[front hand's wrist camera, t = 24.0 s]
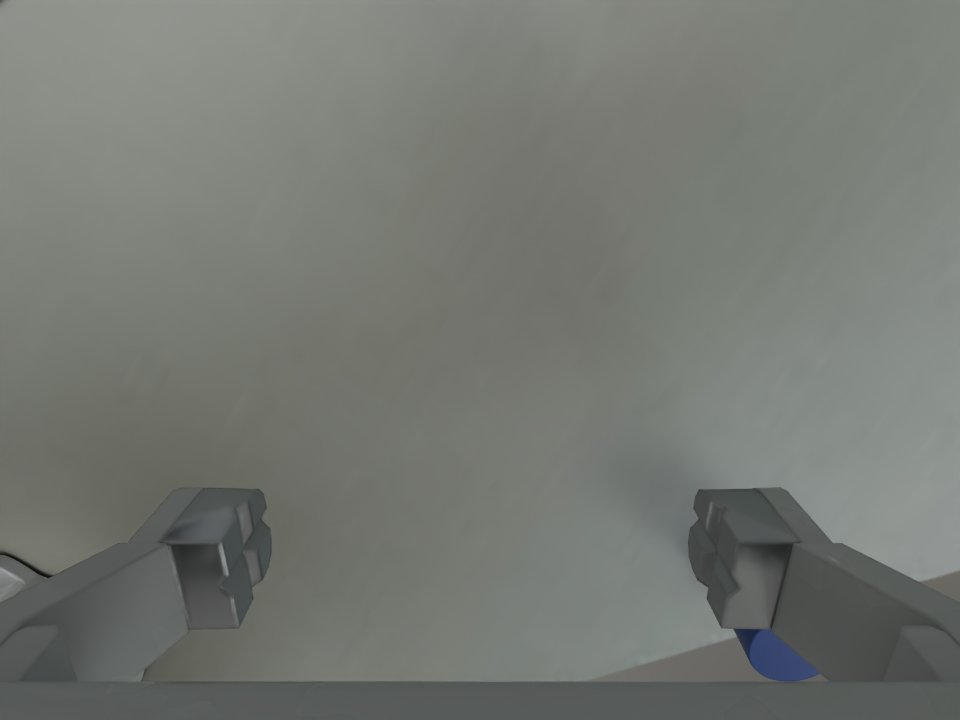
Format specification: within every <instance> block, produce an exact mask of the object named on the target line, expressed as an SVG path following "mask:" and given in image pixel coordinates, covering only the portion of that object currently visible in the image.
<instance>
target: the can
mask: <svg viewBox="0 0 960 720" xmlns="http://www.w3.org/2000/svg"><path fill="white" fill-rule="evenodd" d="M734 631H735V633H736V635H737V637H738V639H739V641H740V643H741V645H742V647H743V649H744V651H745V653H746V655H747V657H748V659H749V661H750V663H751V665H752V666H753V668H754V669H755V670H756V671H757V672H759V673H760V674H761V675H763V676H765V677H767V678H770V679H773V680H777V681H799V680H804V679H807V678H811V677H813V676H815V675H818V674H820V673H819V672H818V671H817V670H816V669H815V668H813V667H812V666H811V665H810V664H809V663H807V662H806V661H805V660H804V659H803V658H801V657H800V656H799V655H798V654H797V653H795V652H794V651H793V650H792V649H791V648H790V647H788V646H787V645H786V644H785V643H784V642H782V641H781V640H780V639H779V638H778V637H776V636H775V635H774V634H773V633H772V632H771V630H765V629H734Z"/></svg>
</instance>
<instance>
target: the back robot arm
mask: <svg viewBox="0 0 960 720" xmlns="http://www.w3.org/2000/svg"><path fill="white" fill-rule="evenodd" d="M46 579H48V578H46V577H43V576H41V575H39V574H37V573H36V572H34V571H33V570H31V569H29V568H28V567H26V566H25V565H23V564H22V563H20V562H18V561H16V560H14V559H13V558H10V557H8V556H5V555H0V602H2V601H4V600H6V599H8V598H10V597H12V596H14V595H16V594H18V593H20V592H22V591H24V590H26V589H28V588H30V587H32V586H34V585H36V584H38V583H40V582H42V581H44V580H46ZM144 671H145V669H144V670H143V671H142V672H141V673H140V674H139V675H137V676H136V677H135V678H134V679H133V680H131V681H141V680H142V678H143V675H144Z"/></svg>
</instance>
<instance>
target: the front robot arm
mask: <svg viewBox="0 0 960 720" xmlns="http://www.w3.org/2000/svg"><path fill="white" fill-rule="evenodd" d="M266 509H267V507H266V502H265V498H264V493H263V492H262V491H261V490H260V489H241V488H179V489H175V490H173V491H172V493H171V494H170V495H169V496H168V497H167V498H166V499H165V500H164V502H163V503H162V504H161V505H160V506H159V507H158V508H157V510H156V511H155V512H154V513H153V514H152V515H151V516H150V518H149V519H148V520H147V521H146V522H145V523H144V524H143V526H142V527H141V528H140V529H139V530H138V531H137V532H136V533H135V535H134V536H133V537H132V538H131V539H130V540H129V541H128V543H118V544H116V545H114V546H112V547H110V548H108V549H106V550H104V551H102V552H100V553H98V554H96V555H94V556H92V557H90V558H88V559H86V560H84V561H82V562H80V563H78V564H76V565H74V566H72V567H70V568H68V569H66V570H64V571H62V572H60V573H58V574H56V575H54V576H52V577H50V578H48V579H46V580H44V581H42V582H40V583H38V584H36V585H34V586H32V587H30V588H28V589H26V590H24V591H22V592H20V593H18V594H16V595H14V596H12V597H10V598H8V599H6V600H4V601H2V602H0V720H960V602H958V601H956V600H954V599H952V598H950V597H948V596H946V595H944V594H942V593H940V592H938V591H936V590H934V589H932V588H930V587H928V586H926V585H924V584H922V583H920V582H918V581H916V580H914V579H912V578H910V577H908V576H906V575H904V574H902V573H900V572H898V571H896V570H894V569H892V568H890V567H888V566H886V565H884V564H882V563H880V562H878V561H876V560H874V559H872V558H870V557H868V556H866V555H864V554H862V553H860V552H858V551H856V550H854V549H852V548H850V547H848V546H846V545H844V544H842V543H832V541H831V540H830V539H829V538H828V537H827V536H826V535H825V534H824V532H823V531H822V530H821V529H820V528H819V527H818V526H817V524H816V523H815V522H814V521H813V520H812V519H811V518H810V516H809V515H808V514H807V513H806V512H805V511H804V510H803V508H802V507H801V506H800V505H799V504H798V503H797V502H796V500H795V499H794V498H793V497H792V496H791V495H790V494H789V493H788V491H787V490H785V489H783V488H780V487H774V488H753V489H706V490H698V492H697V495H696V497H695V502H694V507H693V509H694V510H695V512H696V514H697V516H698V518H699V520H698V521H697V522H696V523H695V524H694V525H693V526H692V527H691V528H690V532H689V540H688V548H689V559H690V562H691V566H692V569H693V572H694V574H695V576H696V578H697V580H698V581H700V582H701V583H703V584H704V585H705V586H707V587H708V594H707V600H708V602H709V604H710V606H711V608H712V610H713V612H714V614H715V616H716V618H717V620H718V622H719V624H720V626H721V628H730V629H765V630H771V632H772V633H773V634H774V635H775V636H776V637H778V638H779V639H780V640H781V641H782V642H784V643H785V644H786V645H787V646H788V647H790V648H791V649H792V650H793V651H794V652H795V653H797V654H798V655H799V656H800V657H801V658H803V659H804V660H805V661H806V662H807V663H809V664H810V665H811V666H812V667H813V668H815V669H816V670H817V671H818V672H819V673H820V674H822V675H823V676H824V677H825V678H826V679H828V680H829V681H830V682H421V681H361V682H143V681H131V680H133V679H134V678H135V677H136V676H137V675H139V674H140V673H141V672H142V671H143V670H144V669H146V668H147V667H148V666H149V665H150V664H152V663H153V662H154V661H155V660H156V659H158V658H159V657H160V656H161V655H162V654H164V653H165V652H166V651H167V650H168V649H170V648H171V647H172V646H173V645H174V644H175V643H177V642H178V641H179V640H180V639H181V638H183V637H184V636H185V635H186V634H187V633H189V630H194V629H229V628H239V627H240V625H241V622H242V620H243V618H244V616H245V614H246V612H247V610H248V608H249V606H250V604H251V602H252V600H253V593H252V587H253V586H255V585H256V584H257V583H259V582H260V581H262V580H263V578H264V576H265V574H266V571H267V569H268V566H269V562H270V557H271V552H272V538H271V531H270V528H269V527H268V526H267V525H266V524H265V523H264V522H263V521H262V520H261V518H262V516H263V514H264V512H265V510H266Z"/></svg>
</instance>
